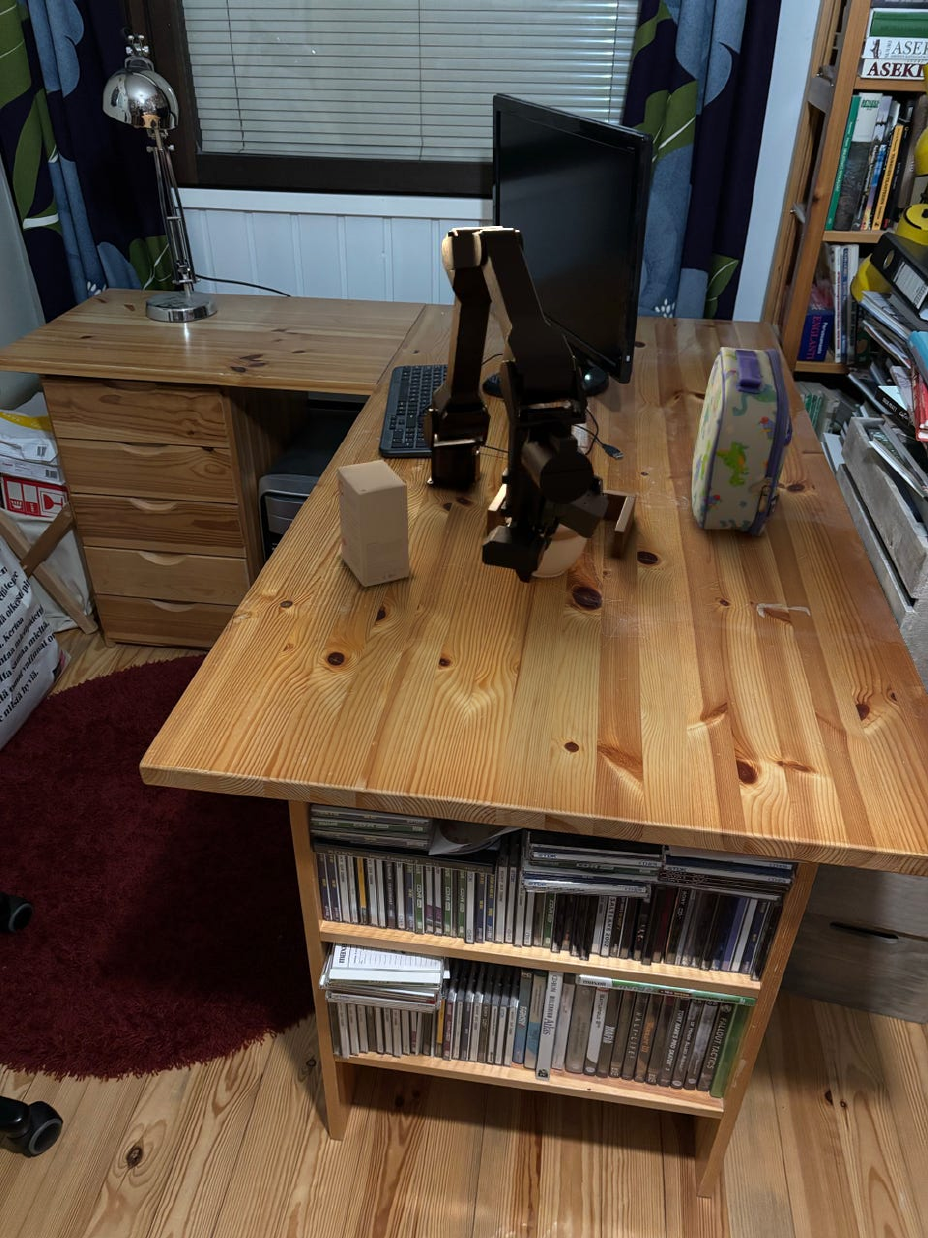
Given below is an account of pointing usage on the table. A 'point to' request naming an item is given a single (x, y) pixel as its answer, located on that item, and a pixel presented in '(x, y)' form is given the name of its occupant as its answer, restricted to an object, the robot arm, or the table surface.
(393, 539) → the small box
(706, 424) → the lunch box
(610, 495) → the walnut bay
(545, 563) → the trinket box
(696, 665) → the table surface
